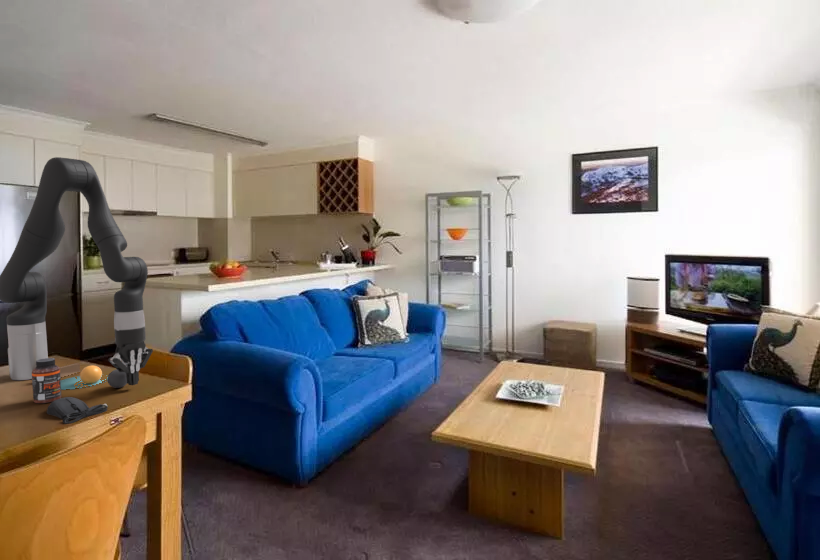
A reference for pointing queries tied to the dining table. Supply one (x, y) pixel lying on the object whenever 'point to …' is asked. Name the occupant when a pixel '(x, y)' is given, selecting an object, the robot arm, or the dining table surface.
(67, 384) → the teal mark
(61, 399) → the computer mouse
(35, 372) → the supplement bottle
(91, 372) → the orange ball
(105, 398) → the dining table surface
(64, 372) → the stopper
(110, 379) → the grey ball
